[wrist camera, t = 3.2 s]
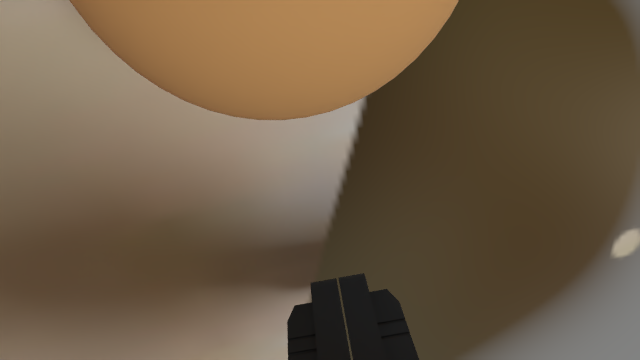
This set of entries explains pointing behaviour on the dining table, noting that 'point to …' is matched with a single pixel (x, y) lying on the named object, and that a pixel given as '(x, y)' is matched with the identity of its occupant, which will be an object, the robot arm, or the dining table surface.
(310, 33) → the ball
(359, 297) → the robot arm
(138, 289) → the dining table surface
